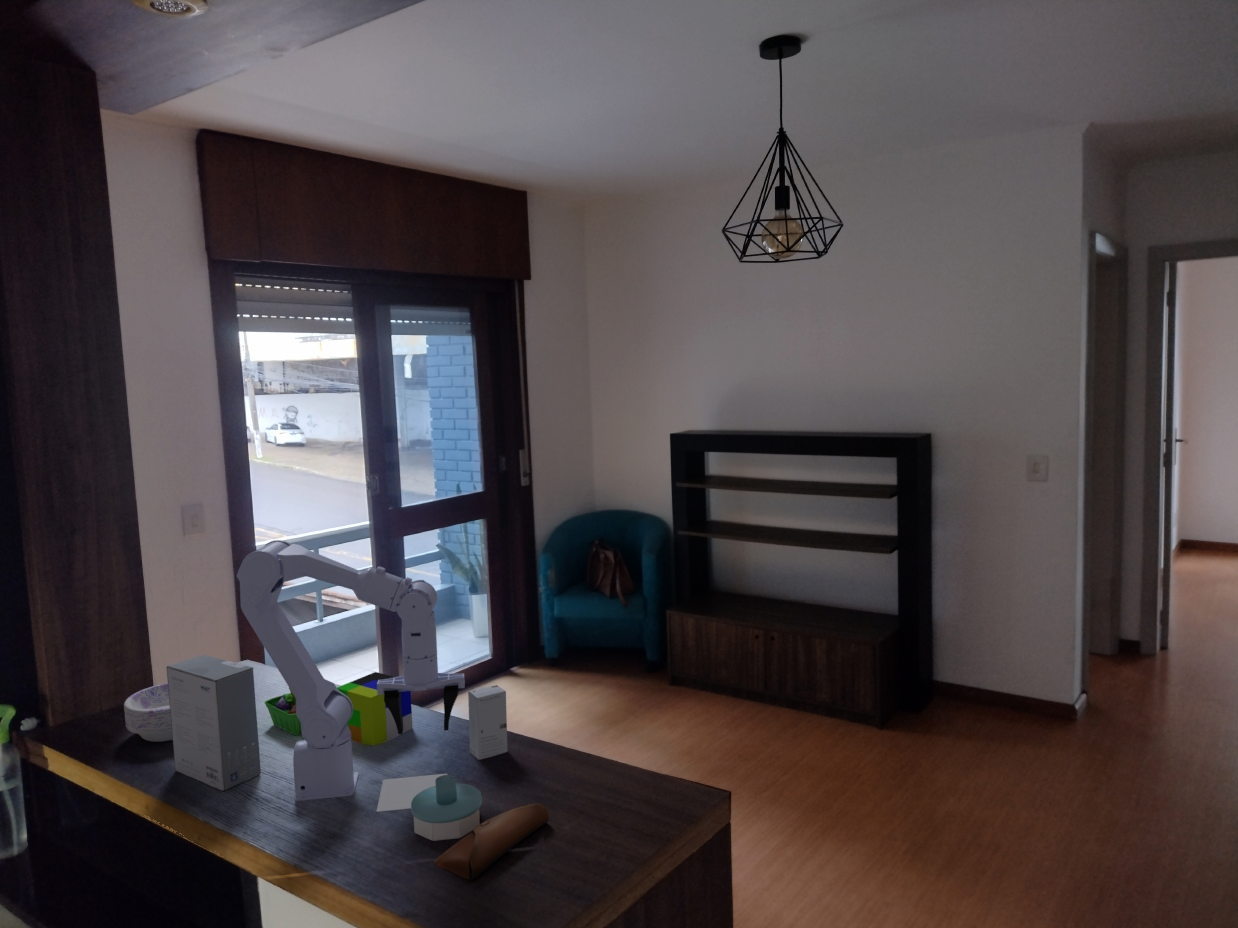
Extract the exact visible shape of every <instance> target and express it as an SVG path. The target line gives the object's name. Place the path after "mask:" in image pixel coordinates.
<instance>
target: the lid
mask: <svg viewBox="0 0 1238 928" xmlns="http://www.w3.org/2000/svg"><path fill="white" fill-rule="evenodd" d="M435 783H436V786H433V787H430V788H427V789H425V790H423V791H421V792H420V793H418V794H417V795H416V796H415V797H414V798H413V800H412V802H411V809H410V811H411V814H412V816H413V817H414V816H415V817H416V818H417V819H419V820H422V821H425V822H429V823H449V822H454V821H458V820H461V819H464V818H466V817H468V816H470V815H472V814H474V813H475V812H476V811H477V810H478V809H479V810H480V808H481V806H482V804H483V796H482V792H481V791H480V790H479V789H478V788H477V787H475V786H473V785H472V784H471V785H470V784H468V783H459V782H457V777H456V776H455V775H452V774H447V775H443V776H440V777H438V778H437V779H436V780H435Z"/></svg>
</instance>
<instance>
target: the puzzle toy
mask: <svg viewBox="0 0 1238 928" xmlns="http://www.w3.org/2000/svg"><path fill="white" fill-rule="evenodd" d="M395 677H396V676H392V675H388V674H386V673H381V672H377V671H374V672H372V673H369V674H367V675H364V676H362V677H359V678H357V679H355V680H352V681H350V682H348V683H344V684H342V685H340V686H336V687H337V689H338V690H339V691H340V692H341V693H343V694H345V695H346V696H347V697H349V699H350V700H351V702H352V704H353V714H352V717H351V718H350V720H349V721H348V722H347V723H348V727H349V729H350V731H351V740H352V742H355V741H356V742H355V743H358V742H359V743H358V744H361V743H362V744H361V745H364V744H365V745H364V746H372V747H374V746H378V745H382V744H384V743H386V742H389V741H390V740H392V739H394V738H396V737H398V736H400V735H399V734H398V730H397V726H396V723H395V721H394V718H393V716H392V714H391V712H390V710H389V709H388V707H387V706H386V704H385V702H384V694H382V695H377V682H378V680H383V679H390V678H395ZM411 692H412V691H401V710H402V718H403V733H402V734H404V733H407V732H409V731H410V730H412V729H413V714H412V712H413V711H412V708H413V707H412V693H411ZM397 735H398V736H397ZM393 737H394V738H393ZM385 741H386V742H385Z"/></svg>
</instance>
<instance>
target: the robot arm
mask: <svg viewBox="0 0 1238 928" xmlns="http://www.w3.org/2000/svg"><path fill="white" fill-rule="evenodd" d="M305 577H308V578H311V579H315V580H318V581H321V582H325V583H328V584H332V585H335V586H339V587H342V588H346V589H347V590H348V589H349V590H352V591H353V593H354V595H355V596H356V598H357V600H358V601H361V602H364V603H367V604H370V605H373V606H376V607H379V608H381V609H384V610H387V611H390V612H394V613H396V614H397V615H398V617H399V618H400V619H401V646H402V647H401V648H402V663H403V664H402V665H403V675H400V676H394V677H395V678H390V679H383V680H378V682H377V695H382V694H384V702H385V704H386V706H387V707H388V709H389V710H390V712H391V714H392V716H393V718H394V721H395V723H396V726H397V730H398V734H400V735H403V734H404V733H403V718H402V710H401V691H411V692H412V691H414V692H422V691H423V692H424V691H427V690H436V689H437V690H438V689H443V692H442V693H443V694H442V696H443V709H444V711H443V712H444V713H443V714H444V716H443V719H444V720H443V731H449V724H450V717H451V715H452V710H453V707H454V705H455V703H456V701H457V698H458V695H459V689H465V688H466V687H465V685H466V684H465V683H466V681H465V673H451V672H450V673H449V672H448V673H447V672H439V665H438V646H437V644H438V642H437V626H436V617H435V611H434V609H435V606H436V604H437V601H438V595H437V591H436V589H435V587H434V586H433V585H432V584H430V583H429V582H427V581H426V580H424V579H415V580H413V578H410V577H408V576H407V577H406V578H403V577H400V576H397V575H394V574H392V573H389V572H386V568H385V567H383V566H380V565H379V566H377V568H375V567H373V566H372V567H369V568H367V569H364V570H358V569H356V568H354V567H351V566H349V565H347V564H344V563H342V562H339V561H336V560H333V559H332V558H329V557H326V556H325V555H322V554H319V553H317V552H315V551H313V550H309V549H308V548H305V547H304V546H303V545H300V544H297V543H290V542H288V541H286V540H281V539H274V540H271V541H268V542H267V543H266V544H265V545H264V546H262V547H260V548H259V549H257V550H254V551H252V552H250V553H248V554H247V555H246V556H245V557H244V558H243V560H242V562H241V564H240V566H239V569H238V571H237V573H236V579H237V580H238V581H239V593H240V594H239V596H240V598H239V599H240V609H241V611H242V614H243V615H244V617H245V618H246V620H247V621H248V623H249V624H250V626H251V628H252V629H253V630H254V632H255V634H256V636H257V637H258V640H259V641H260V642H261V644H262V646H263V648H264V649H265V650H266V652H267V653H268V655H269V657H270V659H271V660H272V662H273V663H274V665H275V667H276V668H277V670H278V672H279V673H280V675H281V676H282V679H283V680H284V681H285V683H286V685H287V686H288V689H289V688H290V689H291V691H292V693H293V694H294V696H295V698H296V715H297V717H298V719H299V720H300V723H301V731H302V733H301V735H302V738H303V740H301V739H300V740H297V741H296V742H295V745H294V749H293V756H292V757H293V758H292V761H293V762H292V763H293V766H292V767H293V779H294V781H293V782H294V793H295V795H294V796H295V797H294V801H295V802H300V801H310V800H321V799H331V798H343V797H351V796H354V793H355V791H356V787H357V783H358V779H359V774H360V773H359V772H358V771H355V772H354V762H353V761H354V760H353V746H352V745H353V741H351V731H350V729H349V727H348V723H347V722H348V721H349V720H350V718H351V717H352V714H353V704H352V702H351V700H350V699H349V697H347V696H346V695H345V694H343V693H341V692H340V691H339V690H338V689H337V687H338V686H336V684H335V683H334V682H332V681H330V680H328V679H327V678H324V676H323V675H322V673H321V671H320V669H319V668H318V667H317V665H316V663H315V661H314V659H313V658H312V656H311V655H310V654H309V652H308V649H307V647H306V646H305V645H304V643H303V642H302V640H301V639H300V637H299V635H298V634H297V632H296V631H295V628H294V626H293V625H292V624H291V622H290V621H289V618H288V617H287V615H286V614H285V612H284V610H283V609H282V607H281V605H280V604H279V602H278V601H279V598H280V595H281V591H282V589H283V586H284V583H285V582H286V583H287V582H290V581H294V580H298V579H301V578H305ZM290 689H289V690H290Z"/></svg>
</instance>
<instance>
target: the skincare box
mask: <svg viewBox="0 0 1238 928" xmlns="http://www.w3.org/2000/svg"><path fill="white" fill-rule="evenodd" d="M467 692H468V693H467V694H468V695H467V697H468V723H469V724H468V726H469V727H468V728H469V731H468V732H469V753H470V754H471V755H473V757H474V758H476V759H477V760H478V761H479V760H483V759H487V758H488V759H489V758H491V757H495V756H499V755H502V754H505V753H508V726H507V725H508V723H507V722H508V721H507V692H506V690H505V689H504V688H502V687H501V686H499V685H497V684H496V685H490V686H483V687H480V688H476V689H473V690H468V691H467Z"/></svg>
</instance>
